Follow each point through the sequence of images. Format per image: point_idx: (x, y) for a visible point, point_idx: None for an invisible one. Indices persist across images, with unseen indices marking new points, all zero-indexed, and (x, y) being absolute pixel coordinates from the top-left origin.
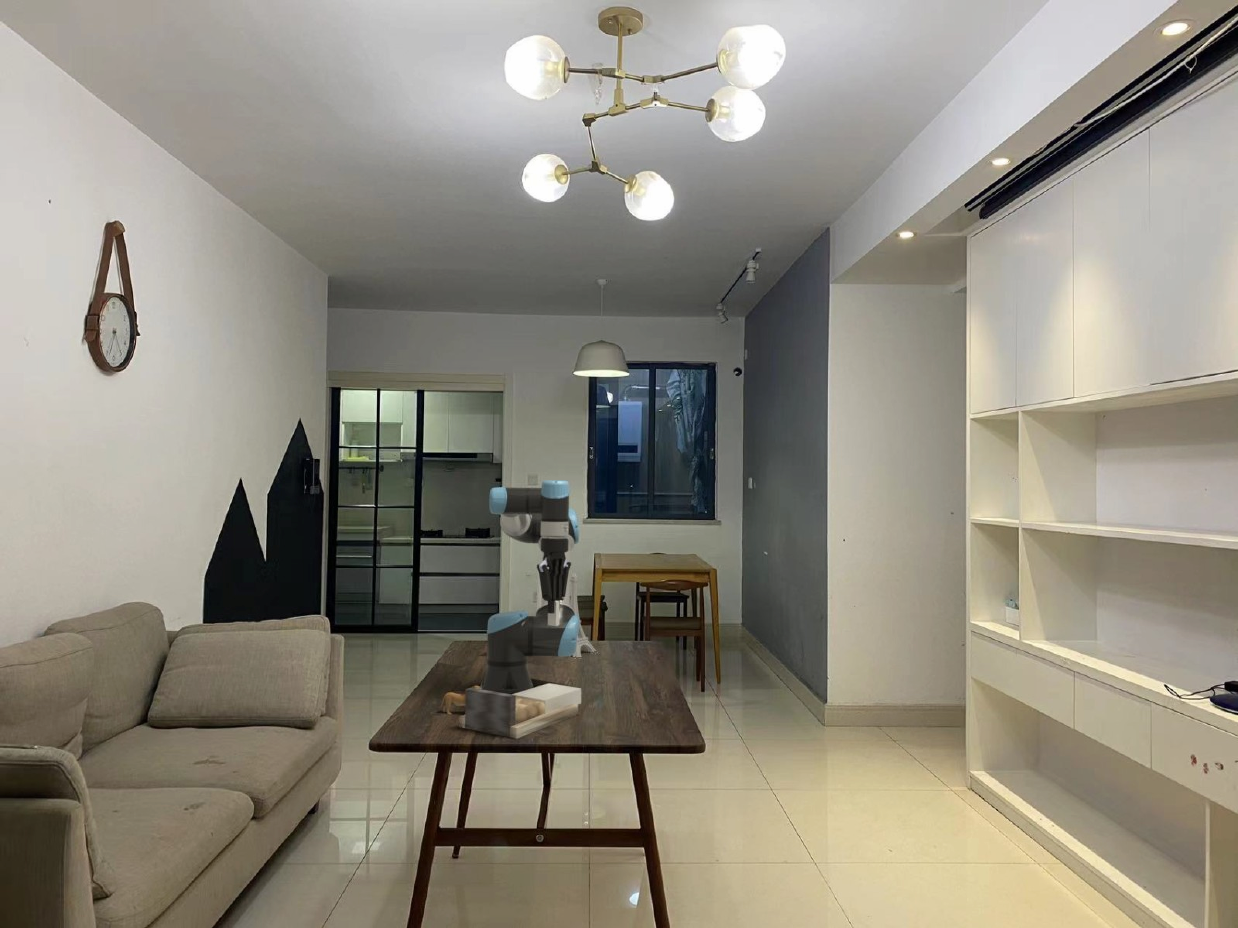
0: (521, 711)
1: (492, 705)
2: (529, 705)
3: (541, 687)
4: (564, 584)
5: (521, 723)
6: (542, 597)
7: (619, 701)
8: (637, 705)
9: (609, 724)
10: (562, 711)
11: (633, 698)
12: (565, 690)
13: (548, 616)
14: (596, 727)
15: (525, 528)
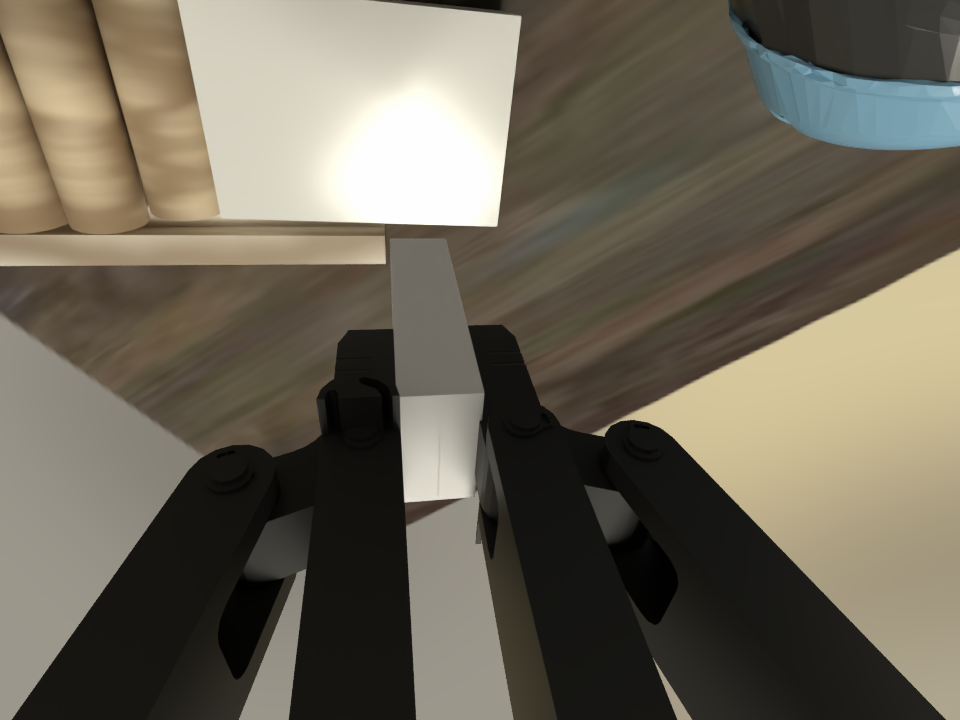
0: (9, 231)
1: None
2: (141, 173)
3: (416, 39)
4: (693, 709)
5: (3, 243)
6: (187, 477)
7: (620, 266)
8: (591, 335)
9: None
10: (274, 263)
11: (675, 283)
12: (429, 188)
13: (392, 286)
14: (297, 368)
15: None
